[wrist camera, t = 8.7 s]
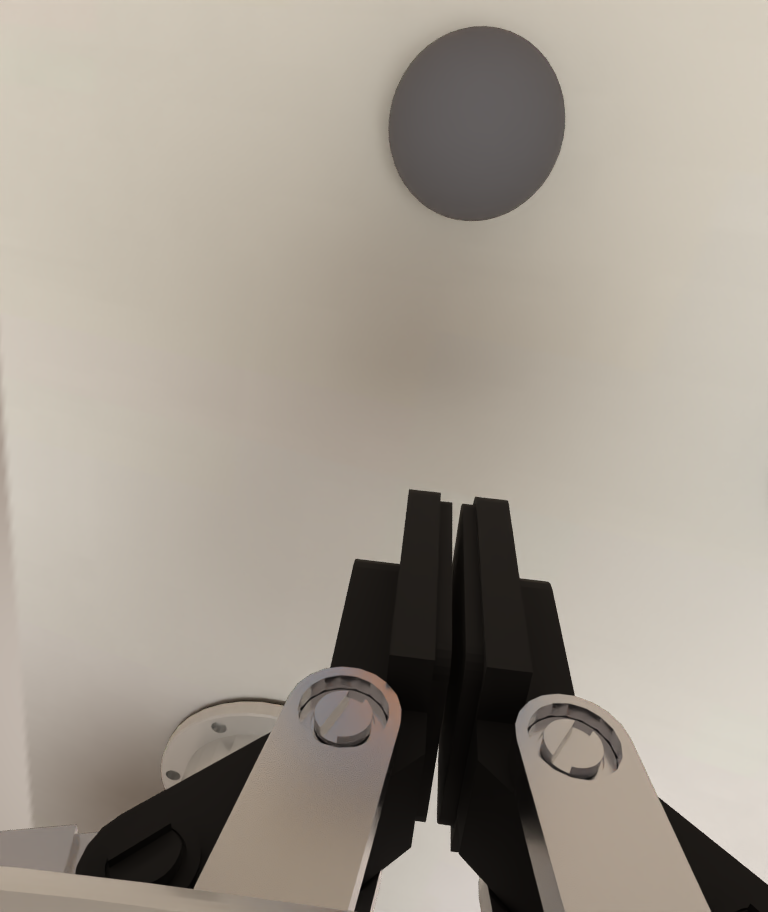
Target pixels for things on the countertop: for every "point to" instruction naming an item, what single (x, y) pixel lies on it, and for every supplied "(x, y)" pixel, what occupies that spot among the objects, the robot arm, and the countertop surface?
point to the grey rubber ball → (476, 123)
